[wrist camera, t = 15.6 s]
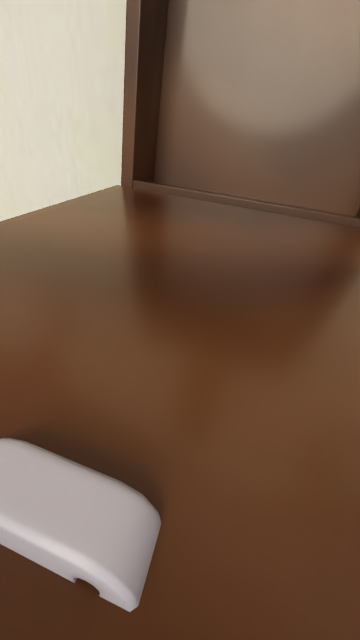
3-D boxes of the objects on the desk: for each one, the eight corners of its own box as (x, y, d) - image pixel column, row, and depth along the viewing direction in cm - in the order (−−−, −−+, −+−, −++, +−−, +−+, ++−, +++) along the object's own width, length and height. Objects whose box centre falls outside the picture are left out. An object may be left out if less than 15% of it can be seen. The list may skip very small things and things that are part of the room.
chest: (171, -148, 11) (134, -279, 8) (547, -183, 9) (704, -395, 6) (147, 191, 18) (120, 192, 15) (359, 229, 15) (383, 240, 12)
